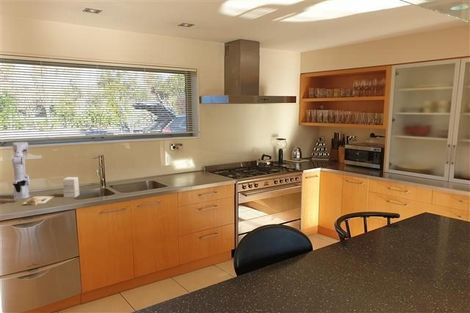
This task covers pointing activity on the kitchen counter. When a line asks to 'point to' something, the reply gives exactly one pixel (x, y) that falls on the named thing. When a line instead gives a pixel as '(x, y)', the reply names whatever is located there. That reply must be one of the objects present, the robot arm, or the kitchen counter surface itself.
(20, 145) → the robot arm
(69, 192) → the supplement box
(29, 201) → the oak block
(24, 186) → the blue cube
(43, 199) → the letter board
